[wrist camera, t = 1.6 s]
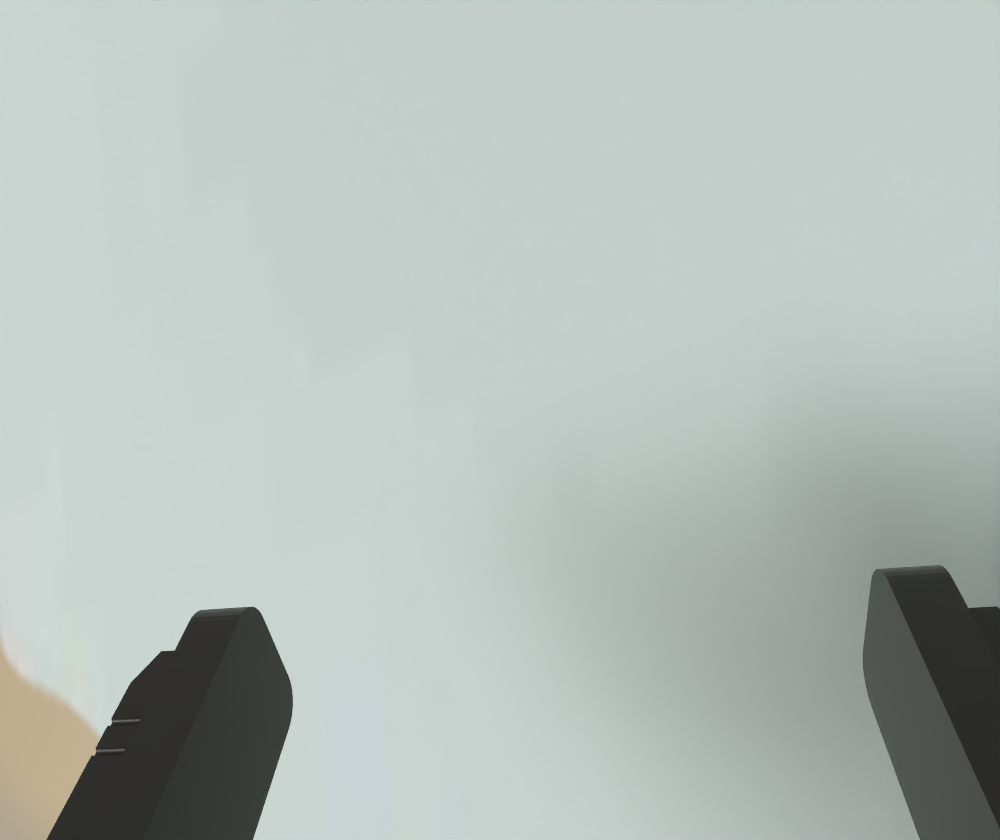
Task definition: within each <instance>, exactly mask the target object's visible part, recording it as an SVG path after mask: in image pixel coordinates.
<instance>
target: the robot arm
mask: <svg viewBox="0 0 1000 840" xmlns="http://www.w3.org/2000/svg"><path fill="white" fill-rule="evenodd" d="M863 669H864V677H865V683H866V688H867V692H868V696H869V700H870V703H871V706H872V709H873V711H874V714H875V717H876V720H877V722H878V725H879V728H880V731H881V733H882V736H883V739H884V742H885V744H886V747H887V750H888V753H889V755H890V758H891V761H892V764H893V766H894V769H895V772H896V775H897V777H898V780H899V783H900V786H901V788H902V791H903V794H904V797H905V799H906V802H907V805H908V808H909V811H910V813H911V816H912V819H913V822H914V824H915V827H916V830H917V833H918V835H919V838H920V840H1000V609H999V608H998V607H979V608H968V607H967V605H966V603H965V601H964V599H963V598H962V596H961V594H960V592H959V590H958V588H957V586H956V585H955V583H954V581H953V579H952V577H951V576H950V574H949V572H948V571H947V570H946V569H945V568H944V567H943V566H940V565H936V566H920V567H904V568H889V569H876V570H875V571H874V573H873V575H872V580H871V588H870V596H869V605H868V613H867V622H866V630H865V639H864V648H863ZM292 708H293V696H292V687H291V683H290V679H289V677H288V674H287V672H286V670H285V667H284V665H283V663H282V660H281V658H280V656H279V653H278V651H277V649H276V646H275V644H274V642H273V639H272V637H271V635H270V632H269V630H268V628H267V626H266V623H265V621H264V619H263V616H262V615H261V613H260V611H259V610H258V609H256V608H255V607H241V608H225V609H210V610H200V611H198V612H197V613H195V614H194V616H193V617H192V618H191V620H190V621H189V623H188V625H187V627H186V629H185V631H184V633H183V635H182V637H181V639H180V641H179V643H178V645H177V647H176V649H175V651H161V652H160V653H159V654H158V655H157V656H156V657H155V658H154V659H153V661H152V662H151V663H150V664H149V665H148V666H147V667H146V668H145V669H144V670H143V671H142V672H141V673H140V674H139V675H138V676H137V677H136V678H135V679H134V680H133V681H132V682H131V683H130V685H129V687H128V689H127V691H126V693H125V694H124V696H123V698H122V700H121V702H120V704H119V706H118V707H117V709H116V711H115V713H114V715H113V717H112V724H111V726H107V728H106V730H105V732H104V734H103V735H102V737H101V739H100V741H99V743H98V745H97V747H96V754H95V756H91V758H90V760H89V762H88V763H87V765H86V767H85V769H84V771H83V773H82V775H81V776H80V778H79V780H78V782H77V784H76V786H75V788H74V790H73V791H72V793H71V795H70V797H69V799H68V801H67V803H66V805H65V806H64V808H63V810H62V812H61V814H60V816H59V817H58V819H57V821H56V823H55V825H54V827H53V829H52V831H51V832H50V834H49V836H48V838H47V840H253V837H254V834H255V831H256V828H257V825H258V822H259V819H260V816H261V813H262V810H263V807H264V804H265V800H266V797H267V794H268V791H269V788H270V785H271V782H272V779H273V776H274V773H275V770H276V767H277V763H278V760H279V757H280V754H281V751H282V748H283V745H284V742H285V739H286V736H287V733H288V730H289V726H290V722H291V717H292Z"/></svg>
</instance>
